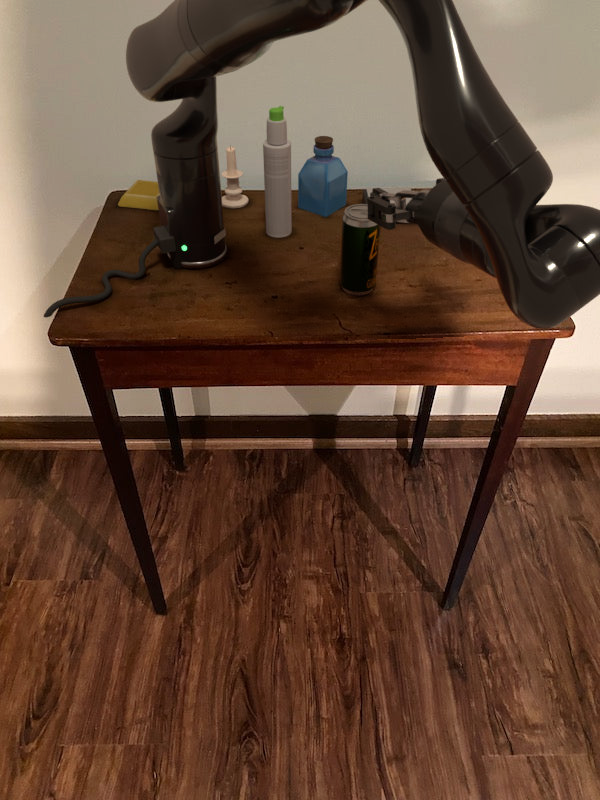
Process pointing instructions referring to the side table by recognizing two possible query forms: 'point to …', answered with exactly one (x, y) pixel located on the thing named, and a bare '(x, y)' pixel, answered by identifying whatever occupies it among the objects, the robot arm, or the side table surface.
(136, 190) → the yellow flat block
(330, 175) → the perfume bottle
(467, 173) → the robot arm
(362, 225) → the beer can
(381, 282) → the side table surface
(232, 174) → the candle
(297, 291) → the side table surface
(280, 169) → the bottle
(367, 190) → the kitchen scale
